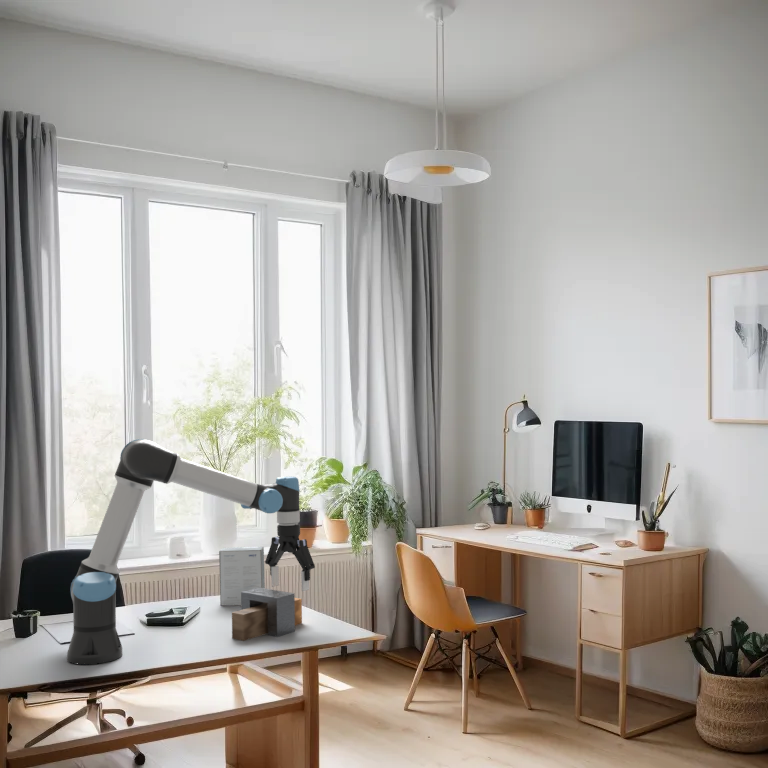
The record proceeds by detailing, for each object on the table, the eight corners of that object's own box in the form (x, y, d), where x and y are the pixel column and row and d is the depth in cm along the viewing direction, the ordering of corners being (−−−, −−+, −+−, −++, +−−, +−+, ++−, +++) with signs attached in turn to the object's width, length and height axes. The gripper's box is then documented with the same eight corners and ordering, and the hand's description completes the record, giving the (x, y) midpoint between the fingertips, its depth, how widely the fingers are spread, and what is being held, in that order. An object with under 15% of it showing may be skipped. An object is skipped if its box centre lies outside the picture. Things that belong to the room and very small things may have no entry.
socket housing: (277, 636, 271) (276, 598, 271) (241, 629, 280) (241, 591, 281) (294, 631, 277) (294, 593, 277) (259, 624, 287) (258, 587, 287)
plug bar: (243, 641, 267) (243, 614, 267) (231, 638, 270) (231, 612, 270) (301, 623, 287) (301, 598, 287) (289, 620, 290) (289, 596, 291)
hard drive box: (265, 600, 321) (265, 546, 322) (262, 605, 313) (261, 550, 314) (223, 601, 321) (223, 547, 322) (219, 606, 314) (218, 550, 314)
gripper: (324, 524, 283) (326, 590, 282) (269, 519, 298) (271, 582, 298) (308, 527, 277) (310, 594, 276) (253, 522, 292) (255, 586, 292)
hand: (290, 588), depth 287 cm, fingers open, 13 cm apart
